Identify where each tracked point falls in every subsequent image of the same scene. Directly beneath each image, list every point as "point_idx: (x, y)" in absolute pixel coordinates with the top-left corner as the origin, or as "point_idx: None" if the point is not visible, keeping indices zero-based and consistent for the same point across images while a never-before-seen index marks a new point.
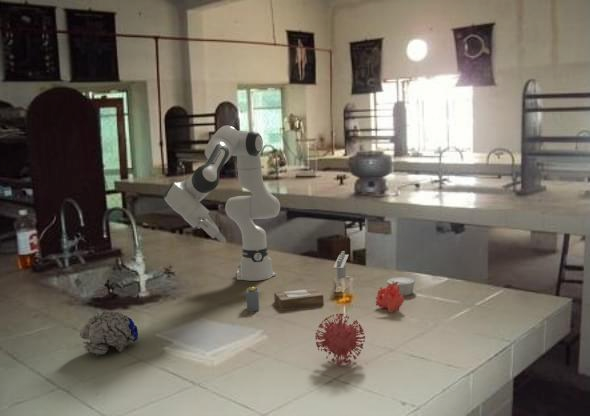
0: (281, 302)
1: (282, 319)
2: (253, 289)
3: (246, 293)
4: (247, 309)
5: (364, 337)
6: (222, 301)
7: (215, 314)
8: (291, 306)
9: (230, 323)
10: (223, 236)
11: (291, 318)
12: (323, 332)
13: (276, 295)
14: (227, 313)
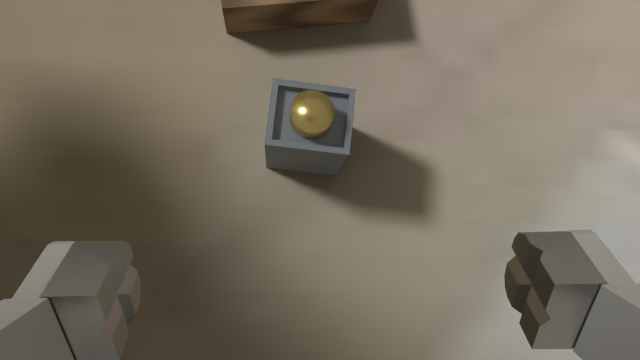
0: (369, 3)
1: (497, 40)
2: (332, 107)
3: (348, 155)
4: (336, 173)
5: None
6: None
7: (349, 337)
8: None
9: (505, 265)
10: (111, 277)
11: (491, 3)
12: None
13: (272, 6)
14: (349, 275)
